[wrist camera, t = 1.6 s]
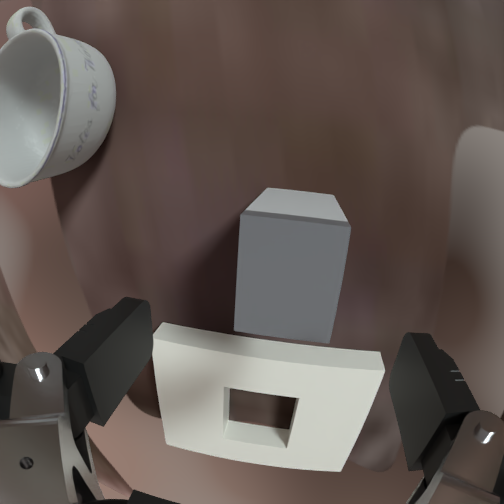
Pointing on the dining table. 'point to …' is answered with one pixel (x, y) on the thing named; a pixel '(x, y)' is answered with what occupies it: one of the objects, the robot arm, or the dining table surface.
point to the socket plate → (269, 382)
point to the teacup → (50, 101)
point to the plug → (290, 265)
